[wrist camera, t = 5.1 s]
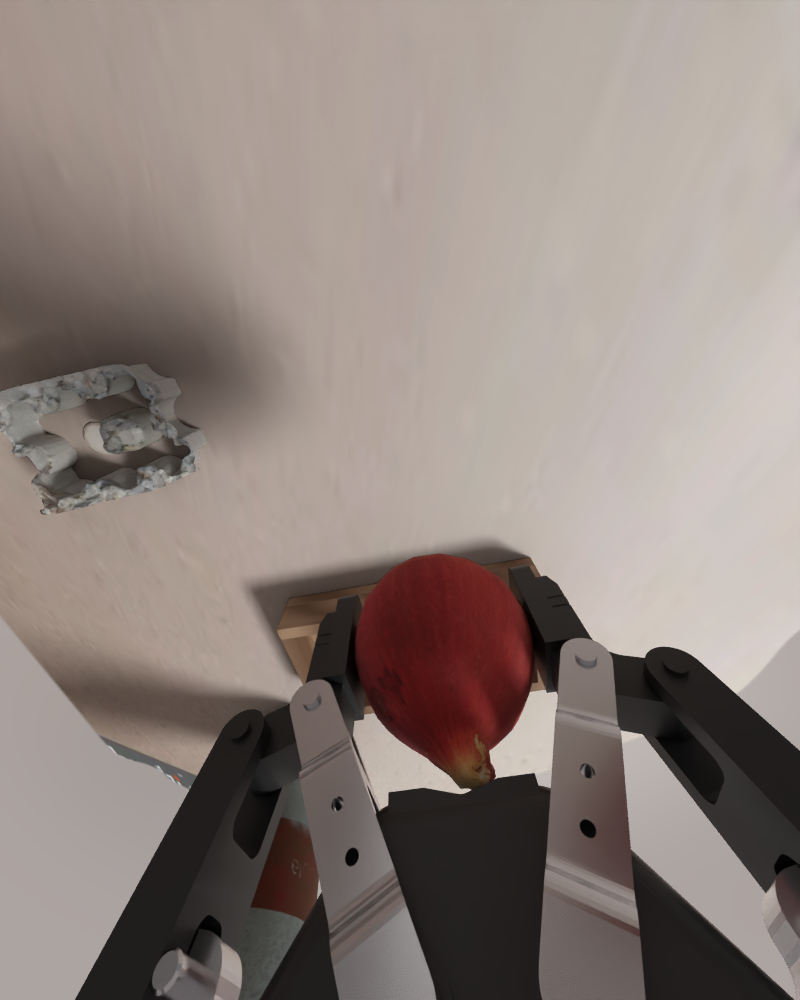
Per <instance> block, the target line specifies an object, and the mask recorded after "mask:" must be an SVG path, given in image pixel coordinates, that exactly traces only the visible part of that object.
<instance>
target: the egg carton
mask: <svg viewBox="0 0 800 1000" xmlns="http://www.w3.org/2000/svg"><path fill="white" fill-rule="evenodd" d="M135 379H136V382H137V386H138V388H139V390H140V392H141V394H142V396H143V397H144V398H146V399H149V400H151V402H150V403H149V404H148V407H149V409H150V410H149V409H146V408H141V407H140V408H135V409H131V410H128V411H124V412H121V413H117V414H114V415H111V416H110V417H109V418H106V419H103V420H102V421H101V423H99V422H92V423H89V424H87V425H86V426H85V428H84V432H83V435H84V439H85V441H86V442H87V444H88V445H89V447H91V448H93V449H94V450H95V451H97V452H98V453H102V454H120V453H123V452H126V451H135V450H139V449H141V448H143V447H145V446H147V445H150V444H151V443H153V442H155V441H158V440H159V439H161V438H162V436H163V435H164V437H166V438H172V439H174V445H176V446H180V445H186V446H188V447H189V449H190V451H191V453H190V454H188V455H187V456H185V457H184V458H183V459H182V460H181V459H179V458H178V457H175V456H172V455H166V456H163V457H161V458H158V459H156V460H154V461H152V462H150V463H149V464H147V465H145V466H143V467H140V468H137V471H136V470H134V469H131V468H121V469H118V470H117V471H114V472H112V473H110V474H108V475H106V476H104V477H102V478H99V479H97V480H96V481H95V482H94V481H91V480H87V479H79V478H78V476H77V475H76V474H75V472H74V471H73V469H72V467H71V466H72V465H73V464H75V463H76V461H77V453H76V450H75V448H74V447H73V446H72V445H71V444H70V443H69V442H68V441H67V440H66V439H64V438H63V437H60V436H58V435H48V434H47V433H46V432H45V431H44V429H43V428H42V426H41V425H40V423H39V419H40V418H41V417H42V416H43V413H44V414H51V413H56V412H60V411H64V410H68V409H72V408H75V407H80V406H82V405H83V404H84V403H85V402H87V399H90V398H92V399H98V400H101V399H102V398H104V397H107V396H111V395H115V394H119V393H123V392H127V391H129V390H131V389H132V388H133V386H134V384H135ZM180 395H181V390H180V388H179V387H178V385H177V383H176V380H175V379H174V378H166V377H163V376H160V375H158V374H157V373H155V372H154V371H153V370H152V369H151V368H150V367H149V366H148V364H146V363H145V364H138V365H131V366H126V365H123V364H114V365H107V366H102V367H97V368H93V369H89V370H84V371H80V372H75V373H72V374H68V375H63V376H57V377H54V378H51V379H46V380H42V381H37V382H34V383H30V384H24V385H20V386H17V387H13V388H10V389H6V390H3V391H0V432H3V433H4V434H5V435H6V436H7V437H8V438H9V439H10V441H11V442H12V444H13V447H14V449H13V450H12V451H13V453H14V454H15V455H16V456H18V457H25V456H28V457H29V458H30V459H31V461H32V462H33V463H34V465H35V466H36V467H37V468H38V470H39V471H40V472H41V473H40V474H37V475H36V476H35V478H34V479H33V480H32V486H33V489H34V491H35V492H36V494H37V495H38V496H39V497H40V498H41V499H42V502H43V504H44V506H45V508H44V509H43V510H40V512H41V514H44V515H49V514H53V513H61V512H65V511H68V510H75V509H79V508H83V507H86V506H90V505H93V504H96V503H99V502H103V501H108V500H114V499H120V498H123V497H126V496H129V495H134V494H139V493H143V492H148V491H153V490H155V489H158V488H160V487H162V486H165V485H167V484H169V483H171V482H173V481H175V480H178V479H180V478H182V477H184V476H186V475H189V474H191V473H193V472H195V471H197V470H199V468H196V467H195V464H197V463H199V462H200V456H199V454H200V450H201V448H202V447H203V446H204V445H205V444H206V443H207V442H208V441H207V439H206V437H205V435H204V434H203V431H202V429H194V428H189V427H187V426H185V425H184V424H182V423H181V422H180V421H179V420H178V419H177V417H176V415H175V413H174V403H175V400H176V399H177V397H178V396H180Z"/></svg>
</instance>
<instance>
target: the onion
mask: <svg viewBox="0 0 800 1000" xmlns="http://www.w3.org/2000/svg"><path fill="white" fill-rule="evenodd" d="M354 649H355V664H356V667H357V671H358V674H359V678H360V681H361V683H362V686H363V688H364V691H365V693H366V696H367V699H368V701H369V704H370V705H371V707H372V709H373V711H374V713H375V714H376V716H377V718H378V719H379V720H380V722H381V723H382V724H383V725H384V726H385V728H386V729H387V730H388V731H389V732H390V733H391V734H393V735H394V736H395V737H396V738H397V739H398V740H399V741H401V742H402V743H404V744H405V745H407V746H408V747H410V748H411V749H413V750H414V751H416V752H418V753H419V754H421V755H423V756H424V757H426V758H428V759H429V760H430V761H431V762H432V763H433V764H434V765H435V766H437V767H438V768H439V769H441V770H442V771H444V772H445V773H447V774H448V775H449V776H450V777H451V778H452V779H453V780H454V782H455V783H456V784H457V785H458V786H459V787H460V789H463V788H469V789H471V790H473V789H476V788H478V787H480V786H482V785H484V784H486V783H488V782H490V781H492V780H494V779H495V777H496V775H495V770H494V767H493V765H492V764H491V763H490V755H489V750H491V749H492V748H494V747H495V746H496V745H497V744H498V743H499V742H500V741H501V740H502V739H504V738H505V737H506V736H507V735H508V734H509V733H510V732H511V731H512V729H513V728H514V726H515V725H516V723H517V721H518V720H519V717H520V715H521V713H522V711H523V708H524V706H525V703H526V701H527V698H528V695H529V693H530V690H531V686H532V682H533V678H534V669H535V654H534V648H533V641H532V635H531V630H530V626H529V621H528V616H527V614H526V612H525V611H524V609H523V608H522V606H521V604H520V603H519V601H518V600H517V598H516V597H515V595H514V594H513V593H512V591H511V590H510V589H509V587H508V586H507V585H506V583H505V582H504V581H503V580H502V578H500V577H499V576H497V575H495V574H494V573H492V572H490V571H489V570H487V569H485V568H484V567H482V566H480V565H479V564H477V563H475V562H473V561H471V560H468V559H464V558H460V557H455V556H450V555H445V554H433V555H426V556H418V557H413V558H411V559H409V560H407V561H405V562H403V563H401V564H399V565H397V566H395V567H394V568H392V569H391V570H390V571H389V572H388V573H387V574H386V575H385V576H384V577H383V578H382V579H381V580H380V581H379V583H378V584H377V585H376V586H375V587H374V589H373V590H372V591H371V592H370V593H369V595H368V596H367V597H366V599H365V602H364V605H363V608H362V612H361V615H360V618H359V623H358V627H357V631H356V636H355V640H354Z"/></svg>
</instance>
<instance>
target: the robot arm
mask: <svg viewBox="0 0 800 1000" xmlns="http://www.w3.org/2000/svg"><path fill="white" fill-rule="evenodd" d="M508 576H509V587H510V590H511V591H512V593H513V594H514V595H515V597H516V598H517V600H518V601H519V603H520V604H521V606H522V608H523V609H524V611H525V612H526V614H527V616H528V621H529V626H530V630H531V635H532V641H533V648H534V654H535V665H536V667H537V670H538V672H539V675H540V677H541V679H542V682H543V684H544V687H545V689H546V691H547V693H549V692H557V694H558V702H557V710H556V716H555V731H554V747H553V763H552V779H551V788H548V787H544V786H538V783H537V780H536V777H535V773H532V774H524V775H517V776H509V777H502V778H497V779H495V780H493V781H490V782H488V783H486V784H484V785H482V786H480V787H478V788H476V789H473V790H471V791H469V792H467V793H465V794H455V793H449V792H444V791H438V790H432V789H427V788H419V789H411V790H404V791H396V792H389V801H388V806H386V807H384V808H383V809H381V808H380V805H379V803H378V800H377V798H376V795H375V793H374V790H373V787H372V785H371V782H370V779H369V777H368V774H367V771H366V768H365V766H364V763H363V760H362V758H361V755H360V752H359V749H358V747H357V744H356V741H355V738H354V736H353V728H354V721H357V720H363V719H364V709H365V695H366V693H365V691H364V688H363V686H362V683H361V681H360V678H359V674H358V671H357V667H356V664H355V649H354V640H355V636H356V631H357V627H358V623H359V618H360V615H361V612H362V608H363V607H362V604H361V601H360V598H359V596H358V595H351V596H346V597H340V598H338V601H337V606H336V611H335V612H331V613H327V614H326V616H325V617H324V619H323V620H322V622H321V623H320V625H319V629H318V634H317V638H316V642H315V647H314V650H313V654H312V659H311V663H310V667H309V671H308V675H307V679H306V683H305V684H304V685H303V686H301V687H300V688H299V689H298V690H297V691H296V693H295V694H294V696H293V697H292V700H291V703H290V704H288V705H287V706H285V707H283V708H281V709H279V710H277V711H275V712H273V713H270V714H268V715H266V716H263V714H262V713H261V712H260V711H258V710H254V709H251V710H246V711H243V712H241V713H239V714H237V715H236V716H235V717H233V718H232V719H231V720H230V721H229V722H228V723H227V724H226V726H225V727H224V728H223V730H222V732H221V733H220V735H219V737H218V739H217V741H216V743H215V744H214V746H213V748H212V750H211V752H210V753H209V755H208V757H207V759H206V761H205V763H204V764H203V766H202V768H201V770H200V772H199V774H198V775H197V777H196V779H195V781H194V783H193V785H192V786H191V788H190V790H189V792H188V794H187V796H186V797H185V799H184V801H183V803H182V805H181V807H180V808H179V810H178V812H177V814H176V816H175V818H174V819H173V821H172V823H171V825H170V827H169V829H168V830H167V832H166V834H165V836H164V838H163V840H162V842H161V843H160V845H159V847H158V849H157V851H156V852H155V854H154V856H153V858H152V860H151V862H150V864H149V865H148V867H147V869H146V871H145V873H144V874H143V876H142V878H141V880H140V882H139V884H138V885H137V887H136V889H135V891H134V893H133V894H132V896H131V898H130V900H129V902H128V904H127V905H126V907H125V909H124V911H123V913H122V915H121V917H120V918H119V920H118V922H117V924H116V926H115V928H114V929H113V931H112V933H111V935H110V937H109V938H108V940H107V942H106V944H105V946H104V948H103V949H102V951H101V953H100V955H99V957H98V959H97V960H96V962H95V964H94V966H93V968H92V970H91V971H90V973H89V975H88V977H87V979H86V981H85V983H84V984H83V986H82V988H81V990H80V992H79V993H78V995H77V997H76V999H75V1000H238V999H239V994H240V990H241V983H242V965H241V961H240V957H239V955H238V953H237V952H236V948H237V945H238V942H239V939H240V936H241V933H242V930H243V927H244V924H245V921H246V918H247V915H248V912H249V909H250V906H251V904H252V901H253V898H254V895H255V892H256V889H257V886H258V883H259V880H260V877H261V874H262V871H263V868H264V865H265V862H266V859H267V856H268V853H269V850H270V847H271V844H272V841H273V838H274V835H275V833H276V830H277V827H278V824H279V821H280V818H281V815H282V812H283V809H284V806H285V803H286V800H287V797H288V794H289V791H290V788H291V785H292V782H293V781H295V780H297V779H300V785H301V790H302V795H303V800H304V805H305V810H306V815H307V820H308V825H309V830H310V835H311V840H312V845H313V850H314V855H315V860H316V865H317V870H318V875H319V880H320V885H321V890H322V892H321V894H320V896H319V898H318V899H317V901H316V903H315V904H314V906H313V908H312V909H311V911H310V913H309V915H308V916H307V918H306V920H305V921H304V923H303V925H302V927H301V928H300V930H299V932H298V934H297V935H296V937H295V939H294V940H293V942H292V944H291V946H290V947H289V949H288V951H287V953H286V954H285V956H284V958H283V959H282V961H281V963H280V965H279V966H278V968H277V970H276V971H275V973H274V975H273V977H272V978H271V980H270V982H269V984H268V985H267V987H266V989H265V990H264V992H263V994H262V996H261V997H260V999H259V1000H794V999H793V998H792V997H791V996H790V995H789V994H787V993H786V992H785V991H784V990H783V989H782V988H781V987H780V986H779V985H778V984H777V983H776V982H774V981H773V980H772V979H771V978H770V977H769V976H768V975H767V974H766V973H765V972H763V970H761V969H760V968H759V967H758V966H757V965H756V964H755V963H754V962H753V961H752V960H751V959H749V958H748V957H747V956H746V955H745V954H744V953H743V952H742V951H741V950H740V949H739V948H738V947H736V946H735V945H734V944H733V943H732V942H731V941H730V940H729V939H728V938H726V936H724V935H723V934H722V933H721V932H720V931H719V930H718V929H717V928H716V927H715V926H714V925H713V924H711V923H710V922H709V921H708V920H707V919H706V918H705V917H704V916H703V915H702V914H700V913H699V912H698V911H697V910H696V909H695V908H694V907H693V906H692V905H691V904H690V903H689V902H687V901H686V900H685V899H684V898H683V897H682V896H681V895H680V894H679V893H678V892H677V891H676V890H674V889H673V888H672V887H671V886H670V885H669V884H668V883H667V882H666V881H664V880H663V878H661V877H660V876H659V875H658V874H657V873H656V872H655V871H654V870H653V869H652V868H651V867H649V866H648V865H647V864H646V863H645V862H644V861H643V860H642V859H641V858H640V857H639V856H637V855H636V854H635V853H634V852H633V851H632V850H631V846H630V834H629V822H628V810H627V798H626V786H625V775H624V763H623V751H622V738H621V730H622V731H628V732H633V733H638V734H643V735H644V736H645V738H646V739H647V740H648V741H649V743H650V744H651V746H652V747H653V748H654V749H655V751H656V752H657V753H658V754H659V756H660V757H661V758H662V759H663V761H664V762H665V764H666V765H667V766H668V767H669V769H670V770H671V771H672V773H673V774H674V775H675V776H676V778H677V779H678V780H679V782H680V783H681V784H682V786H683V787H684V788H685V789H686V790H687V792H688V793H689V795H690V796H691V797H692V798H693V800H694V801H695V802H696V804H697V805H698V806H699V807H700V809H701V810H702V811H703V813H704V814H705V815H706V816H707V818H708V819H709V820H710V822H711V823H712V824H713V826H714V827H715V828H716V829H717V831H718V832H719V833H720V835H721V836H722V837H723V838H724V840H725V841H726V842H727V844H728V845H729V846H730V847H731V849H732V850H733V851H734V853H735V854H736V855H737V856H738V858H739V859H740V860H741V861H742V863H743V864H744V866H745V867H746V868H747V869H748V871H749V872H750V873H751V874H752V876H753V877H754V878H755V880H756V881H757V882H758V884H759V885H760V886H761V887H762V889H763V890H764V891H765V893H766V895H765V896H764V899H763V902H762V914H763V919H764V922H765V925H766V928H767V930H768V932H769V934H770V936H771V938H772V940H773V942H774V943H775V945H776V946H777V948H778V950H779V952H780V953H781V955H782V956H783V958H784V960H785V962H786V964H787V966H788V968H789V970H790V973H791V975H792V978H793V981H794V985H795V989H796V999H797V1000H800V751H799V750H798V749H797V748H796V747H795V746H794V745H793V744H791V743H790V742H789V741H788V740H787V739H786V738H785V737H784V736H782V735H781V734H780V733H779V732H778V731H777V730H776V729H775V728H774V727H772V726H771V725H770V724H769V723H768V722H767V721H766V720H765V719H763V718H762V717H761V716H760V715H759V714H758V713H757V712H755V711H754V710H753V709H752V708H751V707H750V706H749V705H748V704H746V703H745V702H744V701H743V700H742V699H741V698H740V697H739V696H737V695H736V694H735V693H734V692H733V691H732V690H731V689H730V688H729V687H728V686H726V685H725V684H724V683H723V682H722V681H721V680H720V679H719V678H717V677H716V676H715V675H714V674H713V673H712V672H711V671H710V670H708V669H707V668H706V667H705V666H704V665H703V664H702V663H701V662H699V661H698V660H697V659H696V658H695V657H693V656H692V655H690V654H688V653H686V652H684V651H682V650H679V649H675V648H671V647H657V648H654V649H652V650H650V651H649V652H648V653H647V654H646V657H645V658H640V657H631V656H623V655H618V654H614V653H612V652H609V651H608V650H607V649H606V648H605V647H604V646H602V645H601V644H599V643H598V642H596V641H593V640H592V638H591V637H590V635H589V634H588V632H587V631H586V629H585V628H584V626H583V624H582V623H581V621H580V620H579V618H578V616H577V615H576V613H575V612H574V610H573V608H572V607H571V605H569V602H568V600H567V599H566V597H564V594H563V592H562V591H561V589H560V588H559V586H558V584H557V583H555V582H554V581H552V580H551V579H550V578H548V577H547V576H541V577H535V575H534V573H533V572H532V570H531V568H530V566H529V565H524V566H518V567H512V568H508Z"/></svg>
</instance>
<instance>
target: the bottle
mask: <svg viewBox="0 0 800 1000" xmlns="http://www.w3.org/2000/svg"><path fill="white" fill-rule="evenodd" d="M318 881H319V875H318V870H317V865H316V860H315V855H314V850H313V845H312V840H311V835H310V830H309V825H308V820H307V815H306V810H305V805H304V800H303V795H302V790H301V785H300V779H297V780H295V781H293V782H292V785H291V788H290V791H289V794H288V797H287V800H286V803H285V806H284V809H283V812H282V815H281V818H280V821H279V824H278V827H277V830H276V833H275V835H274V838H273V841H272V844H271V847H270V850H269V853H268V856H267V859H266V862H265V865H264V868H263V871H262V874H261V877H260V880H259V883H258V886H257V889H256V892H255V895H254V898H253V901H252V904H251V906H250V909H249V912H248V915H247V918H246V921H245V924H244V927H243V930H242V933H241V936H240V939H239V942H238V945H237V948H236V952H237V953H238V955H239V957H240V961H241V965H242V983H241V990H240V994H239V999H238V1000H259V999H260V997H261V996H262V994H263V992H264V990H265V989H266V987H267V985H268V984H269V982H270V980H271V978H272V977H273V975H274V973H275V971H276V970H277V968H278V966H279V965H280V963H281V961H282V959H283V958H284V956H285V954H286V953H287V951H288V949H289V947H290V946H291V944H292V942H293V940H294V939H295V937H296V935H297V934H298V932H299V930H300V928H301V927H302V925H303V923H304V921H305V920H306V918H307V916H308V915H309V913H310V911H311V909H312V908H313V906H314V904H315V903H316V901H317V891H318Z"/></svg>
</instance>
